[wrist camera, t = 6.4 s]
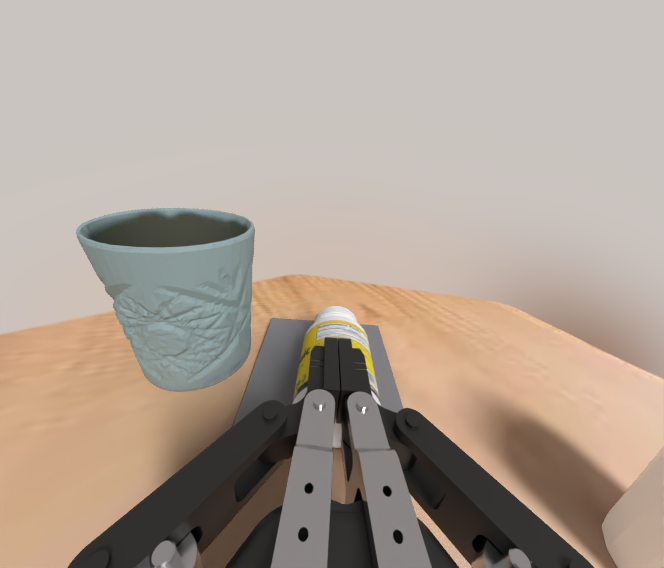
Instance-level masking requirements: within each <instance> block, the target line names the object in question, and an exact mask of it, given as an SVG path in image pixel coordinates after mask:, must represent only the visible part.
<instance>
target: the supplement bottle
mask: <svg viewBox="0 0 664 568" xmlns="http://www.w3.org/2000/svg"><path fill="white" fill-rule="evenodd" d="M325 337H334V338H337V339H338V338H349V339H351V342H352V348H360V350H361V351H362V352H363V354H364V355H365V361H366V366H367V371H368V377H369V382H370V387H371V393H372V396H373V398H374V399H375V400H376V402H377V403H378V404H379V405H380V406H381V404H380V399H379V393H378V388H377V383H376V378H375V373H374V368H373V363H372V357H371V352H370V347H369V341H368V338H367V335H366V333H365V331H364V329H363V328H362V327H361V326H360V325H359V324H358V323H357V320H356V318H355V316H354V314H353V313H352V312H351V311H350V310H348V309H346V308H344V307H340V306H331V307H327V308H325V309H323V310H322V311H320V312H319V313H318V315H317V316H316V318H315V322H314V324H313V325H312V326H311V327H310V328H309V329H308V331H307V332H306V334H305V337H304V341H303V346H302V352H301V358H300V363H299V368H298V374H297V380H296V386H295V392H294V397H293V403H292V404H295V403H297V402H299V401H300V400H301V399H303V397H304V396H305V394H306V392H307V385H308V375H309V364H310V354H311V351H312V349H313V348H314V346H324V339H325ZM341 433H342V428H341V424H337V423H336V419H335V423H334V431H333V447H335V448H341V441H340V439H341Z"/></svg>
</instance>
